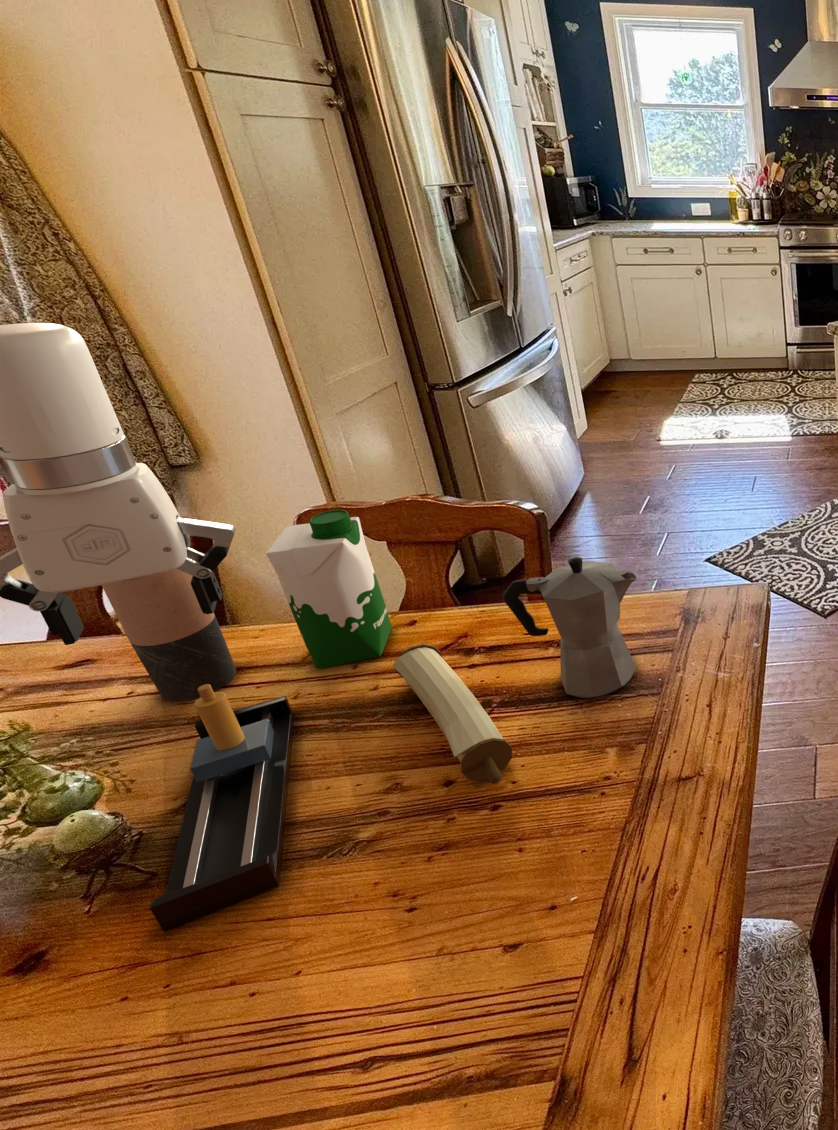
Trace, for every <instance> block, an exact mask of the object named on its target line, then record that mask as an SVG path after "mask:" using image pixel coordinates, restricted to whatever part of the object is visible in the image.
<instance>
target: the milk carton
mask: <svg viewBox="0 0 838 1130" xmlns="http://www.w3.org/2000/svg"><path fill="white" fill-rule="evenodd" d="M265 555H266V556H267V558H268V560H269V562H270V564H271V566H272V568H273V570H274V572H275V573H276V575H277V578H278V580H279V583H280V586H281V588H282V590H283V594H284V596H285V598H286V601H287V603H288V605H289V608H290V611H291V613H292V616H293V618H294V621H295V623H296V625H297V628H298V630H299V633H300V636H301V638H302V640H303V642H304V645H305V646H306V649H307V651H308V654H309V655H310V658H311V660H312V663H313V665H314V667H315V669H317V670H318V669H323V668H328V667H334V666H339V665H346V664H350V663H355V662H360V661H366V660H371V659H377V658H381V656H382V654H383V651H384V648H385V647H386V645H387V641H388V639H389V637H390V634H391V631H392V629H393V628H392V624H391V621H390V616H389V612H388V608H387V605H386V602H385V599H384V596H383V593H382V591H381V587H380V584H379V581H378V579H377V575H376V571H375V568H374V566H373V562H372V561H371V560H372V559H371V557H370V553H369V551H368V548H367V544H366V541H365V537H364V533H363V529H362V524H361V520H360V517H359V516H352V517H350V514H349V511H347V510H345V509H332V510H326V511H323V512H320V513H317V514H315V515H313V516H312V517H310V518H309V520H308V523H301V524H294V525H287V526H285V528H284V529H283V530H282V532H281V533H280V534H279V535H278V537H276V539H275V541H274V542H273V543H272V544H271V545H270V547H269V548H268V550H267V551H266V552H265Z"/></svg>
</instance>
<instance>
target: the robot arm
mask: <svg viewBox="0 0 838 1130" xmlns="http://www.w3.org/2000/svg"><path fill="white" fill-rule="evenodd" d="M117 416H118V415H117V414H116V412H115V409H114V406H113V405H112V402H111V400H110V397H109V395H108V392H107V390H106V388H105V385H104V383H103V380H102V379H101V376H100V373H99V371H98V368H97V367H96V364H95V362H94V359H93V357H92V354H91V352H90V349H89V348H88V345H87V343H86V341H85V339H84V338H83V336H82V335H81V334H80V333H79V332H77V331H76V330H75V329H74V328H72V327H69V326H66V325H64V324H60V323H59V324H58V323H51V322H49V323H48V322H24V323H9V324H0V478H2V477H4V478H5V479H6V480H8V482H9V484H10V485H9V486H8V487H6V488H5V489H4V490H3V492H2V499H3V505H4V510H5V515H6V518H7V522H8V526H9V529H10V533H11V535H12V539H13V541H14V545H15V547H14V548H13V549H12V550H10V551H8V552H6V553H4V554H2V555H0V598H1V599H4V600H7V601H10V602H14V603H17V604H21V605H24V606H28V607H29V609H30V610H31V611H34V612H40V614H41V616H42V618H43V620H44V622H45V624H46V626H47V628H48V630H49V631H50V633H51V635H52V636H58V635H59V636H60V638H61V640H62V642H63V644H64V645H65V646H70V645H73V644H75V643H77V642H78V641H79V638H81V637H80V636H81V635H82V633H83V631H84V629H85V626H84V624H83V621H82V619H81V618H80V615H79V613H78V611H77V609H76V607H75V605H74V603H73V601H72V600H71V597H70V596H69V595H66V593H64V592H72V591H77V590H83V589H89V588H93V587H99V586H102V585H105V584H110V583H115V582H120V581H125V580H131V579H136V578H141V577H146V576H151V575H156V574H161V573H165V572H168V571H171V570H174V569H178V570H180V571H183V572H185V573H188V574H190V575H192V576H193V577H192V580H191V586H192V588H193V591H194V593H195V595H196V598H197V600H198V603H199V605H200V607H201V610H202V612H203V614H205V613H206V615H207V614H211V613H214V614H215V610H216V607H217V602H218V601H222V599H223V593H222V589H221V587H220V585H219V582H218V579H217V577H216V575H215V572H214V571H215V570H216V568H218V567H219V565H220V564H221V563H222V562H223V561H224V560H225V558H226V557H227V556H228V553H229V550H230V547H231V545H232V541H233V538H234V536H235V533H236V527H235V526H234V525H232V524H227V523H222V522H215V521H208V520H201V519H197V518H196V519H194V518H188V517H182V516H181V515H180V513H179V511H178V509H177V508H176V506H175V504H174V503H173V501H172V499H171V497H170V496H169V494H168V493H167V491H166V489H165V488H164V486H163V485H162V483H161V482H160V481H159V479H158V478H157V476H156V475H155V474H154V472H153V471H152V470H151V469H150V468H149V466H148V465H147V464H146V463H145V462H136V459H135V457H134V455H133V452H132V450H131V447H130V444H129V442H128V440H127V438H126V436H125V433H124V431H123V427H122V426H121V423H120V421H119V419H118V417H117ZM190 536H194V537H199V538H200V537H201V538H206V539H211V540H212V541H213V545H212V546H211V547H210V548H209V549H208V551H207V552H206V553H203V552H201V551H198V550H196V549H194V548H193V547H191V543H192V542H191V538H190ZM20 566H23V568H24V570H25V573H26V575H27V577H28V579H29V581H30V582H27V581H23V580H21V579H15V578H13V576H12V575H10V574H9V573H10V572H11V571H13V570H15V569H17V568H19V567H20Z"/></svg>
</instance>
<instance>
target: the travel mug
mask: <svg viewBox="0 0 838 1130" xmlns="http://www.w3.org/2000/svg"><path fill="white" fill-rule="evenodd" d="M192 577H193V576H192V575H190V574H188V573H185V572H183V571H180V570H178V569H174V570H171V571H168V572H165V573H161V574H156V575H151V576H146V577H141V578H136V579H131V580H125V581H120V582H115V583H110V584H105V585H101V588H102V589H103V591H104V593H105V595H106V597H107V599H108V601H109V603H110V605H111V607H112V609H113V611H114V613H115V615H116V617H117V619H118V621H119V623H120V625H121V627H122V629H123V631H124V633H125V635H126V638H127V639H128V641H129V643H130V645H131V647H132V648H133V650H134V652H135V653H136V655H137V657H138V659H139V660H140V662H141V663H142V665H143V667H144V669H145V671H146V673H147V674H148V676H149V678H150V679H151V681H152V683H153V684H154V686H155V688H156V690H157V691H158V694H160V696H161V697H162V698H163V699H164V700H165V701H169V702H185V701H190V700H191V701H192V700H194V699H199V698H201V696H200V694H199V692H198V688H199V687H200V686H202V685H205V684H209V685H211V687H212V689H213V692H217V691H218V690H220V689H221V688H224V687H225V686H226V685H228V684H229V683H230V682H231V681H232V680H234V678H235V677H236V674H237V669H236V666H235V662H234V660H233V657H232V655H231V652H230V650H229V647H228V644H227V642H226V639H225V637H224V634H223V632H222V629H221V627H220V624H219V622H218V619H217V617H216V615H215V612H214V613H211V614H207V615H206V613H205V614H203V612H202V610H201V607H200V605H199V603H198V600H197V598H196V595H195V593H194V591H193V588H192V586H191V580H192Z"/></svg>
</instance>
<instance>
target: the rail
mask: <svg viewBox="0 0 838 1130" xmlns="http://www.w3.org/2000/svg"><path fill="white" fill-rule="evenodd" d="M233 712H234V714H235V716H236V719H237V721H238V723H239V725H240V727H242V726H246V725H249V724H252V723H256V722H259V721H262V720H266V719H268V720H269V722H270V724H271V726H272V728H273V731H274V736H273V744H272V753H271V759H269V760H265V761H262V762H259V763H256V764H253V765H250V766H247V767H244V768H241V769H238V770H235V771H231V772H228V773H225V774H222V775H219V776H216V777H213V778H210V779H207V780H204V781H201V782H197V781H196V779H195V777H194V775H193V774H192V779H191V784H190V788H189V792H188V797H187V800H186V805H185V808H184V813H183V817H182V822H181V826H180V830H179V835H178V839H177V843H176V848H175V852H174V855H173V860H172V864H171V869H170V874H169V877H168V882H167V887H166V891H165V894H163V895H161V896H158V897H155V898H153V899H151V900H150V904H149V911H150V912H151V914H152V915H153V916H154V918H155V920H156V921H157V923H158V925H159V926H160V928H161V929H162V931H163V932H167V931H170V930H172V929H175V928H177V927H180V926H183V925H185V924H187V923H190V922H192V921H195V920H197V919H201V918H203V917H205V916H208V915H210V914H213V913H215V912H218V911H221V910H222V909H225V908H227V907H230V906H233V905H236V904H238V903H241V902H243V901H246V900H248V899H250V898H254V897H257V896H259V895H261V894H264V893H266V892H269V891H271V890H274V889H276V888H279V887H280V883H281V872H282V871H281V870H282V859H283V848H284V838H285V825H286V817H287V816H286V815H287V803H288V793H289V781H290V771H291V770H290V769H291V759H292V747H293V738H294V737H293V736H294V725H295V714H294V712H293V709H292V707H291V704H290V702H289V699H288V697H287V695H283V696H279V697H276V698H271V699H268V700H266V701H262V702H258V703H255V704H251V705H249V706H248V705H247V706H244V707H242V708H238V709H234V710H233ZM194 729H195V730H196V732H197V734H198V736H199V739H202V738H206V737H209V734H208V732H207V730H206V728H205V726H204V723H203V721H202V719H200V720H197V721H195V724H194Z"/></svg>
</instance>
